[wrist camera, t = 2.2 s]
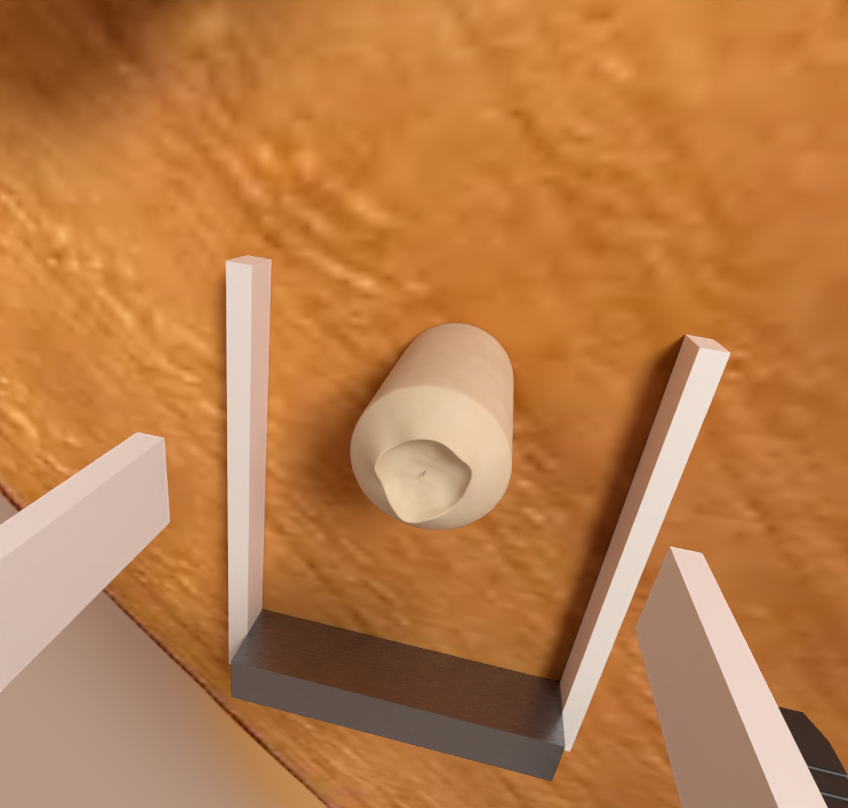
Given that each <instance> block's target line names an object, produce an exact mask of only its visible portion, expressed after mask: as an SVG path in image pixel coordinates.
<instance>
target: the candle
mask: <svg viewBox="0 0 848 808" xmlns="http://www.w3.org/2000/svg"><path fill="white" fill-rule="evenodd" d="M513 390H514V380H513V370H512V366H511V363H510V360H509V358H508V355H507V354H506V352H505V350H504V349H503V347H502V346H501V345H500V343H499V342H498V341H497V340H496V339H495V338H494V337H493V336H491V335H490V334H489V333H487V332H485V331H484V330H482V329H480V328H478V327H475V326H472V325H468V324H463V323H447V324H442V325H438V326H435V327H433V328H430V329H428V330H426V331H425V332H423V333H421V334H420V335H419V336H418V337H416V338H415V339H414V340H413V341H412V342H411V344H410V345H409V346H408V347H407V349H406V350H405V351H404V353H403V354H402V356H401V357H400V359H399V360H398V362H397V363H396V365H395V366H394V368H393V369H392V371H391V372H390V373H389V375H388V376H387V378H386V379H385V381H384V382H383V384H382V385H381V387H380V388H379V390H378V391H377V393H376V394H375V396H374V397H373V399H372V400H371V402H370V403H369V404H368V406H367V407H366V409H365V410H364V412H363V413H362V415H361V416H360V418H359V420H358V422H357V424H356V425H355V428H354V431H353V434H352V438H351V443H350V458H351V465H352V469H353V472H354V475H355V478H356V480H357V482H358V484H359V486H360V488H361V489H362V491H363V492H364V493H365V495H366V496H367V497H368V498H369V500H370V501H371V502H372V503H373V504H374V505H375V506H376V507H378V508H379V509H380V510H381V511H383V512H384V513H385V514H387V515H388V516H390V517H392V518H394V519H395V520H397V521H400V522H402V523H404V524H407V525H410V526H414V527H417V528H423V529H431V530H446V529H453V528H458V527H461V526H465V525H467V524H470V523H472V522H475V521H476V520H478V519H480V518H482V517H483V516H484V515H486V514H487V513H488V512H490V511H491V510H492V509H493V508H494V507H495V506H496V505H497V503H498V502H499V501H500V499H501V498H502V497H503V495H504V493H505V491H506V489H507V486H508V484H509V481H510V476H511V471H512V437H513Z"/></svg>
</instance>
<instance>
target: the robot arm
mask: <svg viewBox="0 0 848 808" xmlns="http://www.w3.org/2000/svg"><path fill="white" fill-rule="evenodd" d="M169 523H170V511H169V497H168V483H167V469H166V455H165V441H164V438H163V437H158V436H153V435H149V434H144V433H139V432H137V433H135V434H134V435H132V436H131V437H129V438H128V439H126V440H125V441H123V442H122V443H120V444H119V445H118V446H116V447H115V448H113V449H112V450H110V451H109V452H107V453H106V454H104V455H103V456H101V457H100V458H98V459H97V460H95V461H94V462H92V463H91V464H89V465H88V466H87V467H85V468H84V469H82V470H81V471H79V472H78V473H76V474H75V475H73V476H72V477H70V478H69V479H67V480H66V481H64V482H63V483H61V484H60V485H58V486H57V487H55V488H54V489H53V490H51V491H50V492H48V493H47V494H45V495H44V496H42V497H41V498H39V499H38V500H36V501H35V502H33V503H32V504H30V505H29V506H27V507H26V508H24V509H23V510H21V511H20V512H19V513H17V514H16V515H14V516H13V517H12V518H10V519H8V520H7V521H5V522H4V523H2V524H0V692H1V691H2V690H3V689H4V688H5V687H6V686H7V685H8V684H9V683H10V682H11V681H12V680H13V679H14V678H15V677H16V676H17V675H18V674H19V673H20V672H21V671H22V670H23V669H24V668H25V667H26V666H27V665H28V664H29V663H30V662H31V661H32V660H33V659H34V658H35V657H36V656H37V655H38V654H39V653H40V652H41V651H42V650H43V649H44V648H45V647H46V646H47V645H48V644H49V643H50V642H51V641H52V640H53V639H54V638H55V637H56V636H57V635H58V634H59V633H60V632H61V631H62V630H63V629H64V628H65V627H66V626H67V625H68V624H69V623H70V622H71V621H72V620H73V619H74V618H75V617H76V616H77V615H78V614H79V613H80V612H81V611H82V610H83V609H84V608H85V607H86V606H87V605H88V604H89V603H90V602H91V601H92V600H93V599H94V598H95V597H96V596H97V595H98V594H99V593H100V592H101V591H102V590H103V589H104V588H105V587H106V586H107V585H108V584H109V583H110V582H111V581H112V580H113V579H114V578H115V577H116V576H117V575H118V574H119V573H120V572H121V571H122V570H123V569H124V568H125V567H126V566H127V565H128V564H129V563H130V562H131V561H132V560H133V559H134V558H135V557H136V556H137V555H138V554H139V553H140V552H141V551H142V550H143V549H144V548H145V547H146V546H147V545H148V544H149V543H150V542H151V541H152V540H153V539H154V538H155V537H156V536H157V535H158V534H159V533H160V532H161V531H162V530H163V529H164V528H165V527H166V526H167V525H168V524H169ZM635 631H636V635H637V639H638V642H639V646H640V650H641V654H642V658H643V662H644V665H645V669H646V673H647V677H648V681H649V684H650V688H651V692H652V696H653V700H654V703H655V707H656V711H657V715H658V719H659V723H660V726H661V730H662V734H663V738H664V742H665V745H666V749H667V753H668V757H669V761H670V764H671V768H672V772H673V776H674V780H675V783H676V787H677V791H678V795H679V799H680V803H681V806H682V808H848V779H847V777H846V775H847V773H846V771H845V770H844V768H843V766H842V764H841V762H840V761H839V759H838V757H837V755H836V753H835V752H834V750H833V748H832V746H831V744H830V742H829V741H828V740H827V739H826V738H825V737H824V736H823V734H822V733H821V732H820V731H819V730H818V729H817V728H816V727H815V725H814V724H813V723H812V722H811V721H810V720H809V719H808V718H807V717H806V715H805V714H804V713H803V712H798V711H794V710H790V709H786V708H782V707H778V706H777V704H776V702H775V700H774V698H773V696H772V694H771V692H770V690H769V688H768V686H767V684H766V682H765V680H764V678H763V676H762V674H761V672H760V670H759V667H758V665H757V663H756V661H755V659H754V657H753V655H752V653H751V651H750V649H749V647H748V645H747V643H746V641H745V639H744V637H743V635H742V633H741V631H740V629H739V627H738V625H737V623H736V621H735V619H734V617H733V615H732V613H731V611H730V609H729V607H728V605H727V603H726V601H725V599H724V597H723V594H722V592H721V590H720V588H719V586H718V584H717V582H716V580H715V578H714V576H713V574H712V572H711V570H710V568H709V566H708V564H707V562H706V560H705V558H704V556H703V554H702V553H699V552H694V551H689V550H685V549H680V548H675V547H671V546H670V547H669V550H668V552H667V554H666V557H665V559H664V561H663V564H662V566H661V568H660V571H659V573H658V575H657V578H656V580H655V582H654V585H653V587H652V589H651V592H650V594H649V596H648V599H647V601H646V603H645V606H644V608H643V610H642V613H641V615H640V617H639V620H638V622H637V624H636V627H635Z"/></svg>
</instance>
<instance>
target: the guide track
mask: <svg viewBox="0 0 848 808" xmlns="http://www.w3.org/2000/svg"><path fill="white" fill-rule="evenodd" d="M271 263H272V259H266V258H261V257H255V256H250V255H246V256H242V257H238V258H235V259H231V260H227V261H226V333H227V471H228V609H229V664H231V697H233V698H237V699H241V700H245V701H249V702H252V703H256V704H260V705H264V706H268V707H271V708H275V709H279V710H283V711H287V712H290V713H294V714H298V715H302V716H306V717H309V718H313V719H317V720H321V721H325V722H328V723H332V724H336V725H340V726H344V727H347V728H351V729H355V730H359V731H363V732H366V733H370V734H374V735H378V736H382V737H385V738H389V739H393V740H397V741H401V742H404V743H408V744H412V745H416V746H420V747H423V748H427V749H431V750H435V751H439V752H442V753H446V754H450V755H454V756H458V757H461V758H465V759H469V760H473V761H477V762H480V763H484V764H488V765H492V766H496V767H499V768H503V769H507V770H511V771H515V772H518V773H522V774H526V775H530V776H534V777H537V778H541V779H545V780H549V781H552V779H553V777H554V774H555V772H556V769H557V767H558V764H559V762H560V759H561V757H562V754H563V751H564V750H566V751H569V752H570V750H571V748H572V745H573V743H574V741H575V738H576V736H577V733H578V731H579V728H580V726H581V723H582V721H583V718H584V716H585V713H586V711H587V708H588V706H589V703H590V701H591V698H592V696H593V693H594V691H595V688H596V686H597V683H598V681H599V678H600V676H601V674H602V671H603V669H604V666H605V664H606V661H607V659H608V656H609V654H610V651H611V649H612V646H613V644H614V641H615V639H616V636H617V634H618V631H619V629H620V626H621V624H622V621H623V619H624V616H625V614H626V611H627V609H628V607H629V604H630V602H631V599H632V597H633V594H634V592H635V589H636V587H637V584H638V582H639V579H640V577H641V574H642V572H643V569H644V567H645V564H646V562H647V559H648V557H649V554H650V552H651V549H652V547H653V544H654V542H655V540H656V537H657V535H658V532H659V530H660V527H661V525H662V522H663V520H664V517H665V515H666V512H667V510H668V507H669V505H670V502H671V500H672V497H673V495H674V492H675V490H676V487H677V485H678V482H679V480H680V478H681V475H682V473H683V470H684V468H685V465H686V463H687V460H688V458H689V455H690V453H691V450H692V448H693V445H694V443H695V440H696V438H697V435H698V433H699V430H700V428H701V425H702V423H703V420H704V418H705V415H706V413H707V411H708V408H709V406H710V403H711V401H712V398H713V396H714V393H715V391H716V388H717V386H718V383H719V381H720V378H721V376H722V373H723V371H724V368H725V366H726V363H727V361H728V358H729V356H730V352H729V351H727V350H726V349H725V348H724V347H722V346H721V345H720V344H719V343H717V342H716V341H715V340H713V339H708V338H702V337H697V336H691V335H686V334H685V337H684V340H683V343H682V345H681V348H680V351H679V354H678V356H677V359H676V362H675V365H674V368H673V370H672V373H671V376H670V379H669V381H668V384H667V387H666V390H665V392H664V395H663V398H662V401H661V404H660V406H659V409H658V412H657V415H656V417H655V420H654V423H653V426H652V429H651V431H650V434H649V437H648V440H647V442H646V445H645V448H644V451H643V453H642V456H641V459H640V462H639V465H638V467H637V470H636V473H635V476H634V478H633V481H632V484H631V487H630V490H629V492H628V495H627V498H626V501H625V503H624V506H623V509H622V512H621V514H620V517H619V520H618V523H617V526H616V528H615V531H614V534H613V537H612V539H611V542H610V545H609V548H608V550H607V553H606V556H605V559H604V562H603V564H602V567H601V570H600V573H599V575H598V578H597V581H596V584H595V587H594V589H593V592H592V595H591V598H590V600H589V603H588V606H587V609H586V611H585V614H584V617H583V620H582V623H581V625H580V628H579V631H578V634H577V636H576V639H575V642H574V645H573V648H572V650H571V653H570V656H569V659H568V661H567V664H566V667H565V670H564V672H563V675H562V678H561V681H560V682H556V681H552V680H548V679H544V678H540V677H536V676H531V675H527V674H523V673H519V672H515V671H511V670H507V669H503V668H499V667H495V666H491V665H487V664H483V663H479V662H474V661H470V660H466V659H462V658H458V657H454V656H450V655H446V654H442V653H438V652H434V651H430V650H426V649H422V648H417V647H413V646H409V645H405V644H401V643H397V642H393V641H389V640H385V639H381V638H377V637H373V636H369V635H365V634H360V633H356V632H352V631H348V630H344V629H340V628H336V627H332V626H328V625H324V624H320V623H316V622H312V621H307V620H303V619H299V618H295V617H291V616H287V615H283V614H279V613H275V612H271V611H267V610H263V609H262V593H263V556H264V520H265V483H266V446H267V410H268V373H269V336H270V299H271Z"/></svg>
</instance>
